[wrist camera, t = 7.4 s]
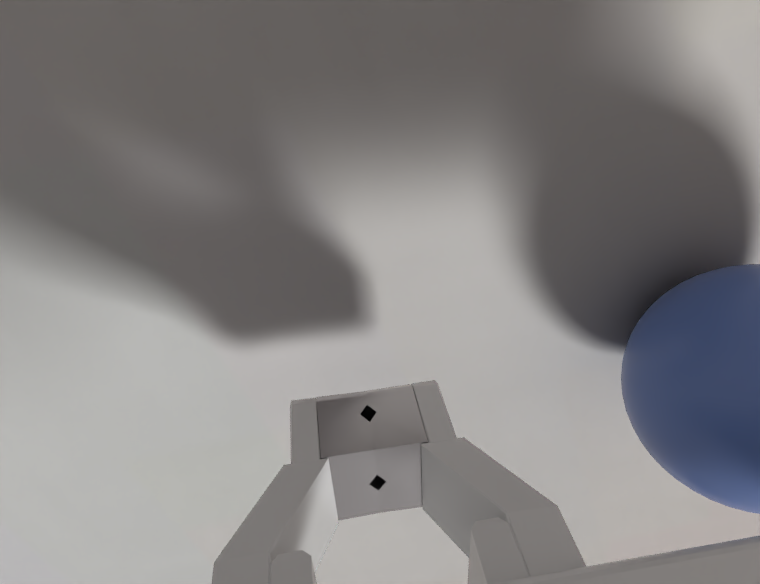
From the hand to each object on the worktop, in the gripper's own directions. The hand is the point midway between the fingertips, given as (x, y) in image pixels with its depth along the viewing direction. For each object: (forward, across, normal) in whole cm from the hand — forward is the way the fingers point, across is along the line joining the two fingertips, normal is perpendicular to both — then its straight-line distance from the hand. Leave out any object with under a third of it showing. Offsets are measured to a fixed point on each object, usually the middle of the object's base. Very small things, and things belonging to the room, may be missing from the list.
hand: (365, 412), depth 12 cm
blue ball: (-1, -8, 0) cm, 8 cm away
